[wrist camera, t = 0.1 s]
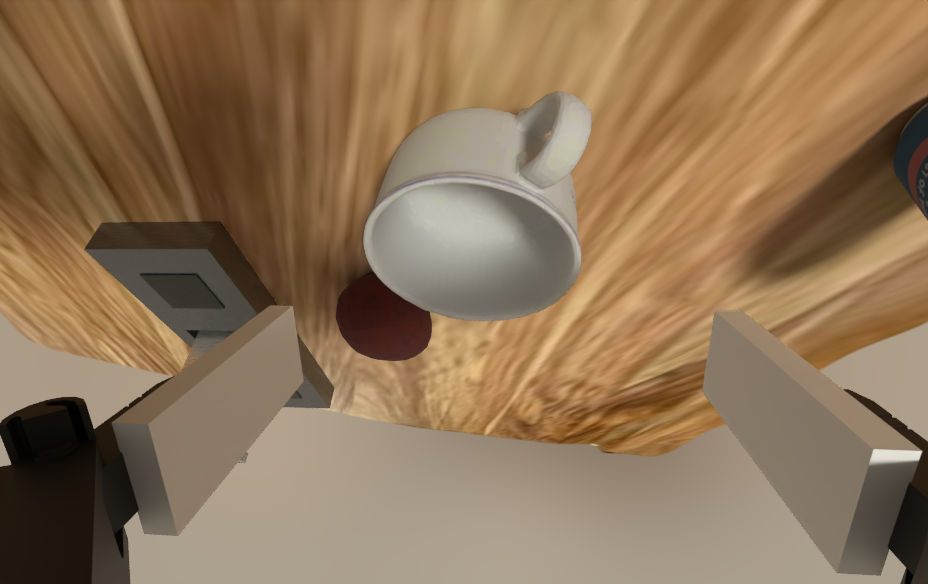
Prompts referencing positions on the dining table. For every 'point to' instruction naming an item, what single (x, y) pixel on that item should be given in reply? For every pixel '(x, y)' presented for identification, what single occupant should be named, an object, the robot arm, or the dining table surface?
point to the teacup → (483, 211)
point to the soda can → (914, 158)
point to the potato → (381, 321)
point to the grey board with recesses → (196, 285)
